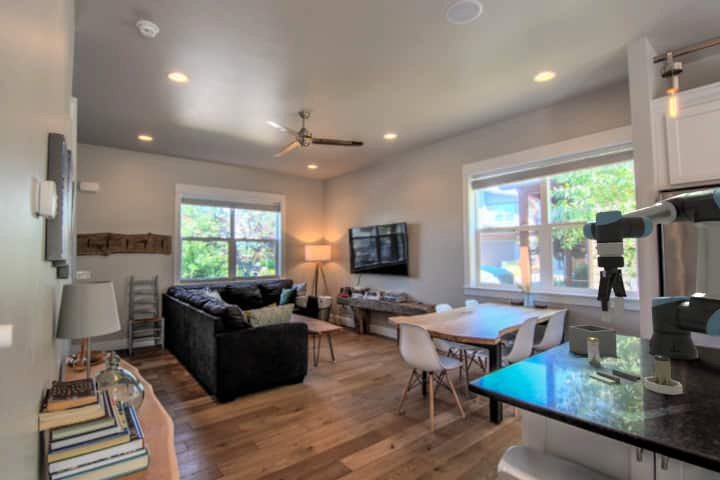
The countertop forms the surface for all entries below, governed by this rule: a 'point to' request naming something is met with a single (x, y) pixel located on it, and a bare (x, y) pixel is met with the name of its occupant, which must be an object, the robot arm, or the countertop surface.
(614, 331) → the phone caddy
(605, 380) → the cradle
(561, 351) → the countertop surface
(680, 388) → the white octagonal bowl
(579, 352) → the smartphone
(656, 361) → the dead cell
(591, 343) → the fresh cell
